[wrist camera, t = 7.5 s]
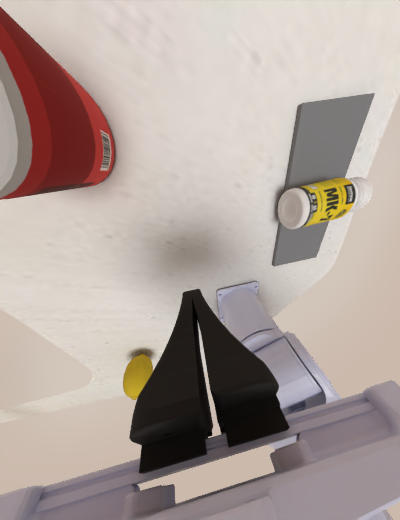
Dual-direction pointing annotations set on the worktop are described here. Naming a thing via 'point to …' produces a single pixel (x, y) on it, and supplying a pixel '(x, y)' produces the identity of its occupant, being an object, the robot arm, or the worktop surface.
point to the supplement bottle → (323, 201)
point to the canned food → (46, 122)
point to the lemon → (137, 375)
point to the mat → (319, 163)
